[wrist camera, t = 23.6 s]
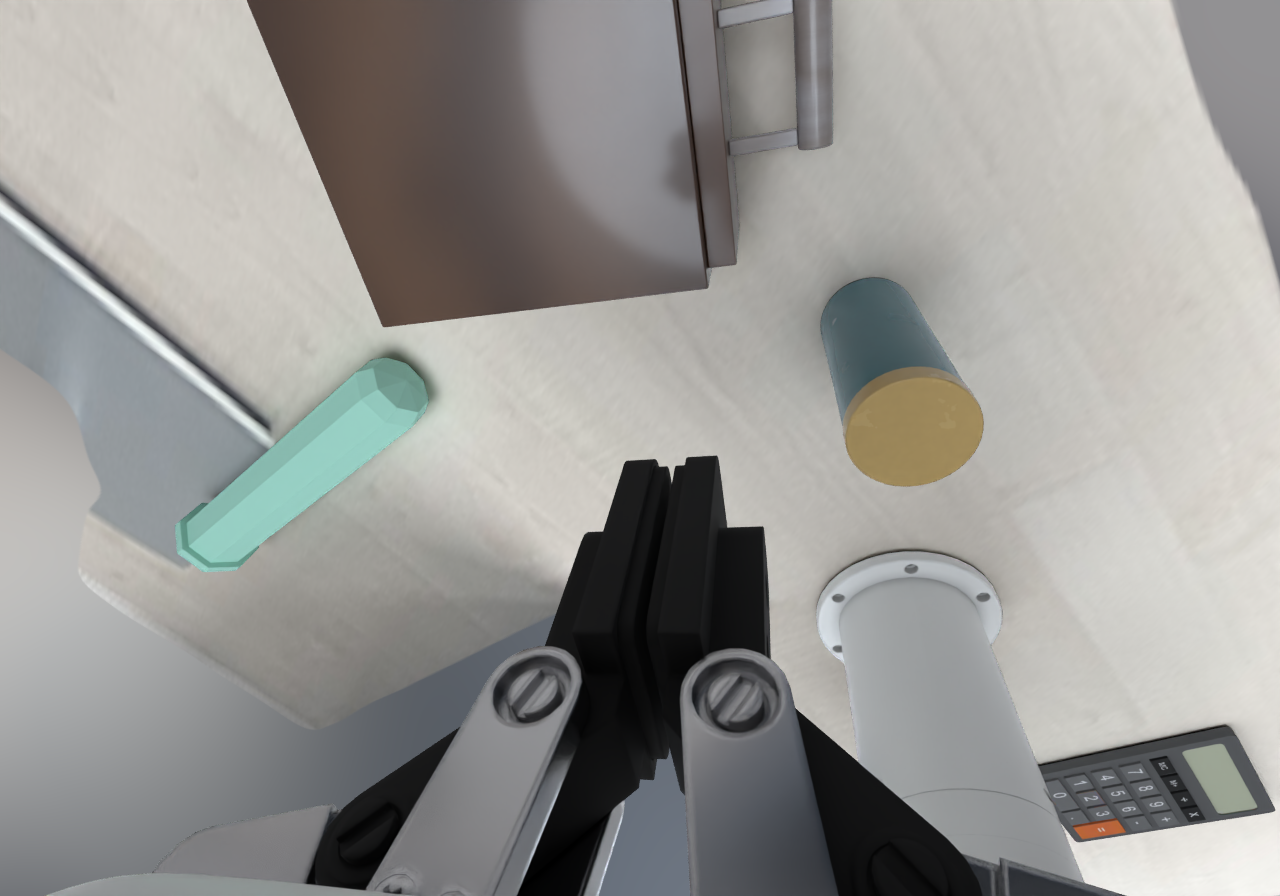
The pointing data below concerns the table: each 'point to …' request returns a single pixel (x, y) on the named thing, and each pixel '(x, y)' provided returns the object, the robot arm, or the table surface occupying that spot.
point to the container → (304, 465)
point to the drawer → (713, 111)
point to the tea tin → (896, 387)
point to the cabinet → (498, 148)
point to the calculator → (1156, 786)
